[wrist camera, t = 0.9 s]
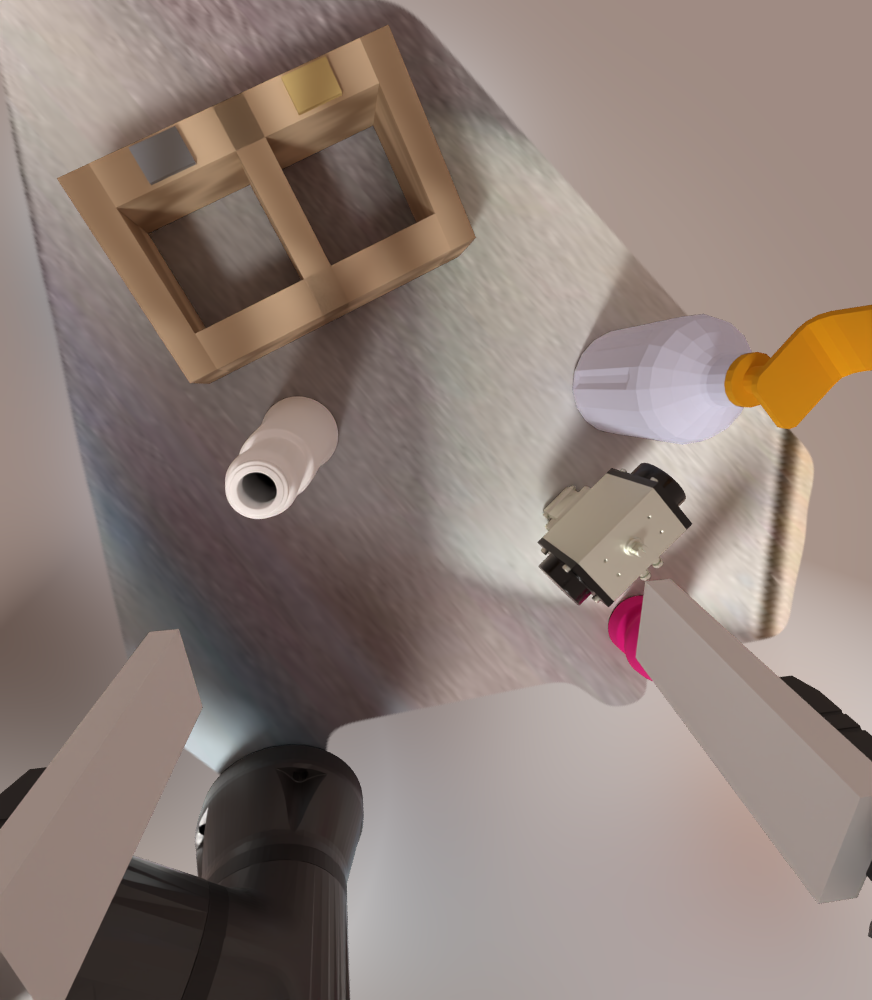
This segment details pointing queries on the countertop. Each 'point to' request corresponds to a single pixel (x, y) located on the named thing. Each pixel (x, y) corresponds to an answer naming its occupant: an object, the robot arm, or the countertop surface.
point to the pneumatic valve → (611, 532)
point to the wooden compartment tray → (274, 200)
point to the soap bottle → (713, 374)
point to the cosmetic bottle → (281, 457)
